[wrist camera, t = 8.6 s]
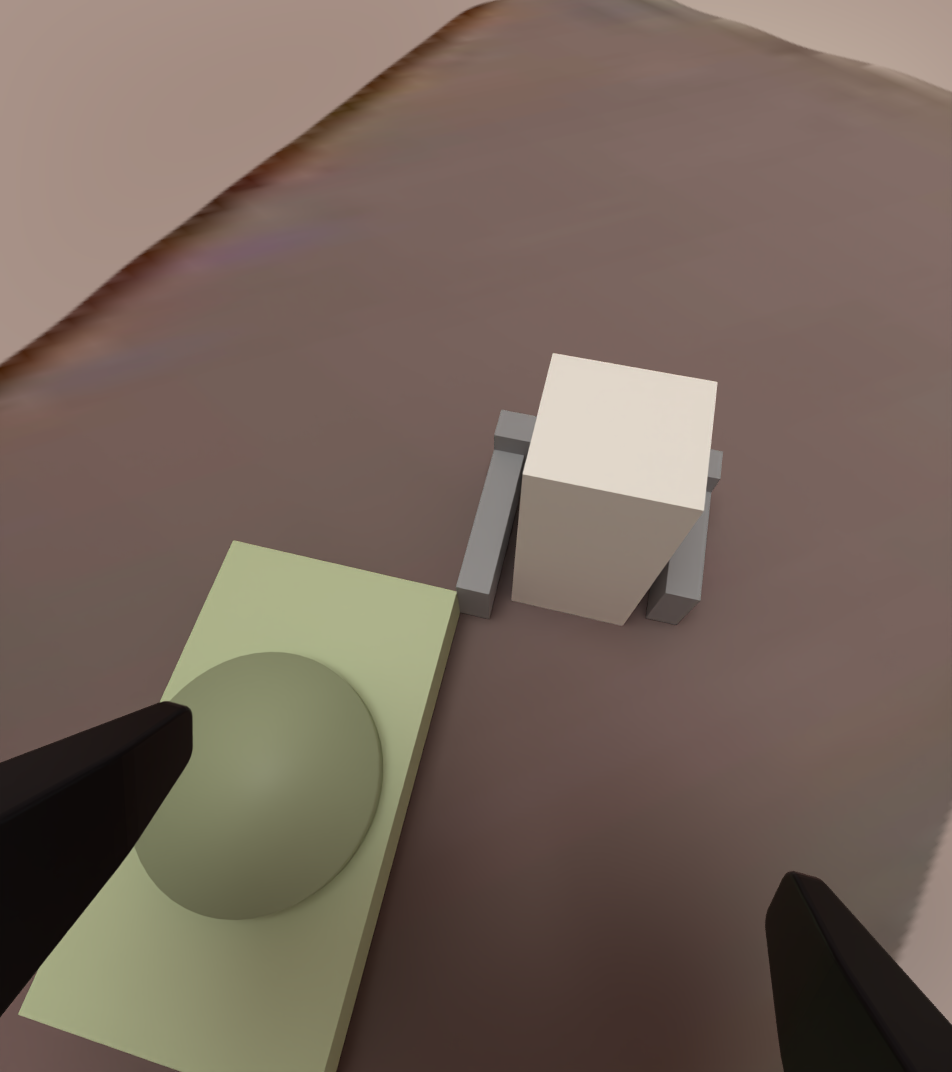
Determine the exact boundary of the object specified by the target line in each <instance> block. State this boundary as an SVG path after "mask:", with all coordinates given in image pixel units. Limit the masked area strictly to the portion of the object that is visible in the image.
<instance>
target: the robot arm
mask: <svg viewBox="0 0 952 1072" xmlns="http://www.w3.org/2000/svg"><path fill="white" fill-rule="evenodd" d="M192 751H193V714H192V711H191V709H190V708H189V707H188V706H185V705H182V704H178V703H174V702H171V701H163V702H159V703H157V704H154V705H151V706H149V707H146V708H144V709H141V710H138V711H136V712H133V713H130V714H128V715H125V716H122V717H120V718H117V719H114V720H112V721H109V722H107V723H104V724H101V725H99V726H96V727H93V728H91V729H88V730H85V731H83V732H80V733H78V734H75V735H72V736H70V737H67V738H64V739H62V740H59V741H56V742H54V743H51V744H48V745H46V746H43V747H41V748H38V749H35V750H33V751H30V752H27V753H25V754H22V755H19V756H17V757H14V758H11V759H9V760H6V761H4V762H1V763H0V1017H1V1016H2V1014H3V1013H4V1012H5V1011H6V1009H7V1008H8V1007H9V1005H10V1004H11V1003H12V1002H13V1000H14V999H15V998H16V997H17V995H18V994H19V993H20V992H21V990H22V989H23V988H24V986H25V985H26V984H27V983H28V981H29V980H30V979H31V978H32V976H33V975H34V974H35V973H36V971H37V970H38V969H39V968H40V966H41V965H42V964H43V962H44V961H45V960H46V959H47V957H48V956H49V955H50V954H51V952H52V951H53V950H54V949H55V947H56V946H57V945H58V944H59V942H60V941H61V940H62V938H63V937H64V936H65V935H66V933H67V932H68V931H69V930H70V928H71V927H72V926H73V925H74V923H75V922H76V921H77V920H78V918H79V917H80V916H81V914H82V913H83V912H84V911H85V909H86V908H87V907H88V906H89V904H90V903H91V902H92V901H93V899H94V898H95V897H96V896H97V894H98V893H99V892H100V890H101V889H102V888H103V887H104V885H105V884H106V883H107V882H108V880H109V879H110V878H111V877H112V875H113V874H114V873H115V871H116V870H117V869H118V868H119V866H120V865H121V864H122V862H123V861H124V860H125V858H126V857H127V856H128V854H129V853H130V852H131V850H132V849H133V847H134V846H135V844H136V843H137V841H138V840H139V838H140V837H141V835H142V834H143V832H144V831H145V829H146V828H147V826H148V825H149V823H150V821H151V820H152V818H153V817H154V815H155V814H156V812H157V811H158V809H159V808H160V806H161V805H162V803H163V801H164V800H165V798H166V797H167V795H168V794H169V792H170V791H171V789H172V788H173V786H174V785H175V783H176V781H177V780H178V778H179V777H180V775H181V774H182V772H183V771H184V769H185V768H186V766H187V764H188V762H189V760H190V758H191V755H192ZM765 930H766V939H767V947H768V956H769V964H770V973H771V981H772V989H773V998H774V1006H775V1015H776V1023H777V1032H778V1039H779V1046H780V1053H781V1059H782V1064H783V1069H784V1072H952V1025H951V1024H950V1023H949V1021H948V1020H947V1019H946V1018H945V1017H944V1016H943V1014H942V1013H941V1012H940V1011H939V1010H938V1009H937V1008H936V1007H935V1006H934V1004H933V1003H932V1002H931V1001H930V1000H929V999H928V998H927V997H926V995H925V994H924V993H923V992H922V991H921V990H920V989H919V988H918V987H917V985H916V984H915V983H914V982H913V981H912V980H911V979H910V978H909V976H908V975H907V974H906V973H905V972H904V971H903V970H902V969H901V968H900V966H899V965H898V964H897V963H896V962H895V961H894V960H893V959H892V957H891V956H890V955H889V954H888V953H887V952H886V951H885V950H884V948H883V947H882V946H881V945H880V944H879V943H878V942H877V941H876V940H875V938H874V937H873V936H872V935H871V934H870V933H869V932H868V931H867V929H866V928H865V927H864V926H863V925H862V924H861V923H860V922H859V921H858V919H857V918H856V917H855V916H854V915H853V914H852V913H851V912H850V910H849V909H848V908H847V907H846V906H845V905H844V904H843V903H842V901H841V900H840V899H839V898H838V897H837V896H836V895H835V894H834V893H833V891H832V890H831V889H830V888H829V887H828V886H827V885H826V884H825V883H824V882H823V881H822V880H821V879H819V878H817V877H814V876H810V875H806V874H803V873H799V872H795V871H789V872H787V873H786V874H785V875H784V877H783V879H782V881H781V883H780V885H779V887H778V889H777V891H776V893H775V895H774V897H773V899H772V902H771V904H770V906H769V908H768V910H767V914H766V920H765Z"/></svg>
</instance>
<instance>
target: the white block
mask: <svg viewBox="0 0 952 1072" xmlns="http://www.w3.org/2000/svg"><path fill="white" fill-rule="evenodd" d="M716 391H717V382H714V381H708V380H703V379H697V378H691V377H686V376H680V375H674V374H668V373H663V372H657V371H651V370H646V369H640V368H634V367H629V366H623V365H617V364H612V363H606V362H600V361H594V360H589V359H583V358H577V357H572V356H566V355H560V354H555V353H553V355H552V359H551V363H550V367H549V371H548V375H547V379H546V383H545V387H544V391H543V395H542V399H541V403H540V407H539V411H538V415H537V419H536V423H535V427H534V431H533V435H532V439H531V443H530V447H529V451H528V455H527V459H526V463H525V467H524V471H523V476H522V487H521V498H520V509H519V520H518V531H517V542H516V553H515V564H514V575H513V586H512V597H511V601H515V602H520V603H524V604H528V605H533V606H537V607H542V608H546V609H550V610H555V611H559V612H563V613H568V614H572V615H577V616H581V617H585V618H590V619H594V620H598V621H603V622H607V623H612V624H616V625H620V626H623V625H624V623H625V622H626V621H627V619H628V618H629V616H630V615H631V613H632V612H633V611H634V609H635V608H636V606H637V605H638V604H639V602H640V601H641V599H642V598H643V596H644V595H645V594H646V592H647V591H648V589H649V588H650V587H651V585H652V584H653V582H654V581H655V579H656V578H657V577H658V575H659V574H660V572H661V571H662V570H663V568H664V567H665V565H666V564H667V562H668V561H669V560H670V558H671V557H672V555H673V554H674V552H675V551H676V550H677V548H678V547H679V545H680V544H681V543H682V541H683V540H684V538H685V537H686V535H687V534H688V533H689V531H690V530H691V528H692V527H693V526H694V524H695V523H696V521H697V520H698V518H699V517H700V516H701V514H702V513H703V511H704V505H705V496H706V486H707V476H708V467H709V457H710V448H711V438H712V429H713V419H714V410H715V400H716Z"/></svg>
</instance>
